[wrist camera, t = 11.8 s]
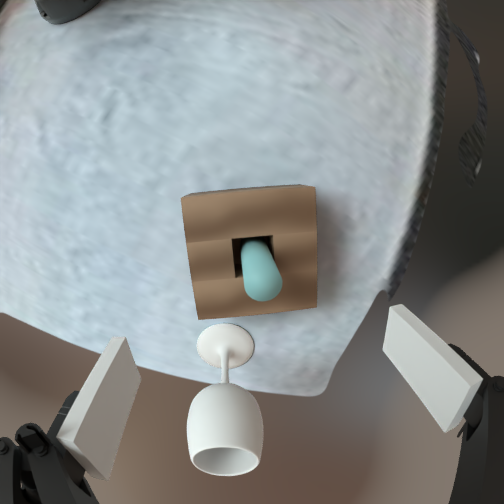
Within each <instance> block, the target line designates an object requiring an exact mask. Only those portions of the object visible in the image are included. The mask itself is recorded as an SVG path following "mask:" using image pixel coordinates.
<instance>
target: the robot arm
mask: <svg viewBox="0 0 504 504" xmlns="http://www.w3.org/2000/svg"><path fill="white" fill-rule="evenodd" d="M100 1H101V0H35V3H36V5H37V7H38V10H39V12H40V15H41V16H42V17H43V18H44V19H45V20H46V21H48V22H49V23H52V24H61V23H65V22H68V21H70V20H73V19H75V18H77V17H79V16H80V15H82V14H84V13H85V12H87V11H88V10H90V9H91V8H92V7H94V6H95V5H96V4H97V3H99V2H100ZM383 351H384V353H385V354H386V355H387V356H388V357H389V359H390V360H391V361H392V363H393V364H394V365H395V367H396V368H397V369H398V371H399V372H400V373H401V374H402V376H403V377H404V378H405V380H406V381H407V382H408V384H409V385H410V386H411V388H412V389H413V390H414V392H415V393H416V394H417V396H418V397H419V398H420V399H421V401H422V402H423V404H424V405H425V406H426V408H427V409H428V410H429V412H430V413H431V414H432V416H433V417H434V419H435V420H436V422H437V423H438V424H439V426H440V427H441V428H442V430H443V431H444V433H446V432H447V431H449V430H451V429H453V428H454V427H456V426H458V424H459V423H460V421H461V419H462V417H464V418H465V419H466V422H465V424H464V425H463V427H462V428H461V430H460V431H459V433H458V435H457V437H459V436H460V435H461V433H462V432H463V437H462V445H461V451H460V457H459V463H458V468H457V473H456V478H455V482H454V486H453V490H452V494H451V497H450V501H449V504H504V377H502V376H494V377H490V376H489V375H488V374H487V373H486V372H485V371H484V370H483V369H482V368H481V367H480V366H479V365H478V364H477V363H475V362H474V361H473V360H472V359H471V358H470V357H469V356H468V355H466V353H465V352H463V350H461V349H460V348H459V347H457V346H455V345H453V344H448V345H447V344H446V343H445V342H444V341H443V340H442V339H441V338H440V337H438V336H437V335H436V334H435V333H434V332H433V331H432V330H431V329H430V328H429V327H427V326H426V325H425V324H424V323H423V322H422V321H420V319H418V318H417V317H416V316H415V315H414V314H413V313H412V312H410V311H409V310H408V309H407V308H406V307H405V306H403V305H402V304H399V305H395V306H390V309H389V316H388V322H387V328H386V334H385V339H384V344H383ZM140 381H141V377H140V374H139V372H138V369H137V367H136V364H135V361H134V359H133V356H132V353H131V351H130V348H129V345H128V342H127V339H126V337H112V338H111V340H110V341H109V343H108V345H107V346H106V348H105V350H104V351H103V353H102V354H101V356H100V358H99V360H98V361H97V363H96V365H95V366H94V368H93V370H92V371H91V373H90V375H89V376H88V378H87V380H86V382H85V383H84V386H83V387H82V389H81V391H74V392H73V393H72V394H70V395H69V396H68V397H67V398H66V400H65V402H64V404H63V405H62V408H61V409H60V411H59V414H57V416H56V418H55V420H54V421H53V423H52V425H51V427H50V429H49V431H48V433H47V435H46V434H45V433H44V432H43V430H41V428H40V427H39V426H38V425H37V424H34V423H28V424H24V425H23V426H21V427H20V428H19V429H18V430H17V432H16V434H15V440H16V442H17V443H18V444H19V445H20V446H16V445H15V444H14V443H13V442H12V440H11V439H9V438H7V437H2V438H0V504H99V502H98V501H97V499H96V497H95V495H94V493H93V492H92V490H91V488H90V486H89V484H88V482H87V480H86V479H85V477H84V473H85V470H86V471H87V472H88V473H89V474H90V475H91V476H92V477H94V478H97V479H101V480H106V481H109V478H110V474H111V471H112V467H113V464H114V460H115V457H116V454H117V450H118V447H119V443H120V440H121V437H122V434H123V431H124V428H125V425H126V422H127V419H128V416H129V413H130V410H131V407H132V404H133V401H134V398H135V395H136V392H137V390H138V387H139V384H140ZM21 483H22V488H21Z"/></svg>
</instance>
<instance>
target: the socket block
mask: <svg viewBox="0 0 504 504" xmlns="http://www.w3.org/2000/svg"><path fill="white" fill-rule="evenodd" d="M181 205H182V213H183V222H184V230H185V238H186V245H187V252H188V259H189V266H190V273H191V279H192V285H193V292H194V298H195V303H196V309H197V315H198V320H203V319H216V318H228V317H239V316H250V315H259V314H269V313H277V312H286V311H294V310H302V309H309V308H316V307H317V219H316V193H315V187H313V186H306V185H300V184H299V185H280V186H265V187H252V188H239V189H228V190H218V191H208V192H199V193H190V194H188V195H186V196H184V197H182V198H181ZM256 236H262V237H263V238H264V240H265V242H266V244H267V246H268V249H269V251H270V253H271V255H272V257H273V260H274V262H275V264H276V266H277V268H278V271H279V273H280V275H281V277H282V288H281V291H280V292H279V294H278V295H277V296H276V297H275V298H273V299H271V300H268V301H257V300H254V299H252V298H251V297H250V296H249V295H248V294H247V293H246V291H245V287H244V279H243V270H242V261H241V252H240V242H241V240H242V238H245V237H256Z"/></svg>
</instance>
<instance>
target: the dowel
mask: <svg viewBox="0 0 504 504" xmlns="http://www.w3.org/2000/svg"><path fill="white" fill-rule="evenodd" d="M240 252H241V261H242V270H243V279H244V287H245V291H246V293H247V294H248V295H249V296H250V297H251V298H252V299H254V300H257V301H268V300H271V299H273V298H275V297H276V296H277V295H278V294H279V292H280V291H281V288H282V277H281V275H280V273H279V271H278V268H277V266H276V264H275V262H274V260H273V257H272V255H271V253H270V251H269V249H268V246H267V244H266V242H265V240H264V238H263V237H262V236H256V237H245V238H242V240H241V242H240Z"/></svg>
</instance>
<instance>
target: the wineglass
mask: <svg viewBox="0 0 504 504" xmlns="http://www.w3.org/2000/svg"><path fill="white" fill-rule="evenodd" d="M253 349H254V343H253V340H252V338H251V336H250V335H249V333H248V332H247V331H246V330H244V329H243V328H241V327H239V326H237V325H234V324H228V323H221V324H215V325H212V326H210V327H208V328H207V329H205V330H204V331H203V332H202V333H201V334H200V336H199V338H198V341H197V350H198V353H199V355H200V357H201V358H202V359H203V360H204V361H205V362H206V363H208V364H209V365H211V366H214V367H217V368H222V373H221V383H217V384H213V385H210V386H208V387H206V388H205V389H203V390H201V391H200V393H198V394H197V395H196V397H195V398H194V399H193V402H192V404H191V406H190V410H189V414H188V420H187V439H188V447H189V452H190V457H191V460H192V463H193V464H194V465H195V466H196V467H197V468H198V469H200V470H202V471H204V472H206V473H209V474H213V475H220V476H234V475H240V474H244V473H247V472H250V471H251V470H253V469H255V468H256V467H257V466H258V464H259V462H260V457H261V453H262V446H263V445H262V444H263V422H262V416H261V412H260V408H259V405H258V403H257V401H256V400H255V398H254V397H253V396H252V395H251V394H250V393H249V392H248V391H247V390H245V389H244V388H242V387H240V386H238V385H235V384H231V383H229V375H228V369H230V368H235V367H238V366H240V365H242V364H244V363H245V362H247V361H248V360H249V358H250V357H251V355H252V353H253Z"/></svg>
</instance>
